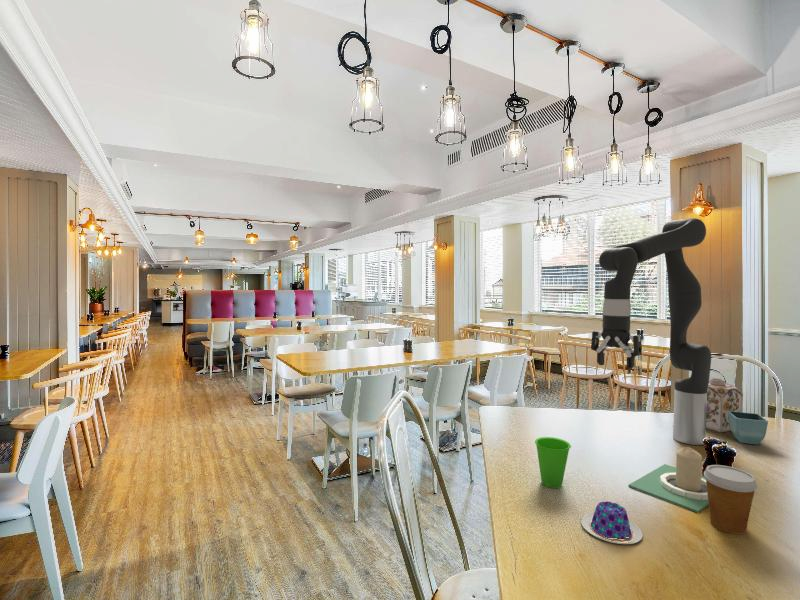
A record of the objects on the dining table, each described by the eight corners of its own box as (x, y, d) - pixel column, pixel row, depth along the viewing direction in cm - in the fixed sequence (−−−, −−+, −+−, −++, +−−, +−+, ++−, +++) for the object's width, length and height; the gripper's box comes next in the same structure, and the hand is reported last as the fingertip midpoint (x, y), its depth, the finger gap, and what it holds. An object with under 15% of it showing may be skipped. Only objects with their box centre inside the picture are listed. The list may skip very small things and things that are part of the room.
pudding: (601, 549, 87) (602, 524, 87) (570, 517, 99) (571, 495, 99) (655, 545, 89) (656, 520, 89) (619, 514, 101) (619, 492, 101)
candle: (705, 492, 109) (706, 454, 109) (680, 490, 110) (682, 452, 110) (694, 482, 115) (696, 445, 114) (671, 480, 116) (673, 444, 115)
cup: (569, 478, 118) (570, 439, 118) (570, 494, 109) (571, 451, 109) (534, 473, 121) (535, 435, 120) (533, 488, 112) (534, 446, 112)
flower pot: (735, 444, 144) (736, 417, 144) (726, 435, 153) (727, 410, 152) (767, 448, 141) (768, 421, 141) (757, 439, 149) (758, 413, 149)
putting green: (664, 465, 127) (664, 460, 127) (731, 487, 114) (731, 480, 114) (628, 486, 114) (628, 480, 114) (699, 513, 101) (699, 506, 101)
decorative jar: (742, 429, 159) (744, 381, 158) (721, 433, 155) (723, 383, 154) (709, 420, 170) (711, 374, 169) (688, 423, 166) (690, 376, 165)
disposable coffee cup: (759, 544, 89) (761, 487, 89) (703, 529, 94) (705, 476, 94) (751, 522, 97) (754, 470, 97) (700, 510, 102) (702, 460, 102)
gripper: (647, 315, 127) (645, 369, 128) (600, 312, 138) (598, 362, 139) (634, 316, 122) (633, 372, 123) (587, 312, 134) (586, 364, 135)
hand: (614, 367), depth 131 cm, fingers open, 8 cm apart
